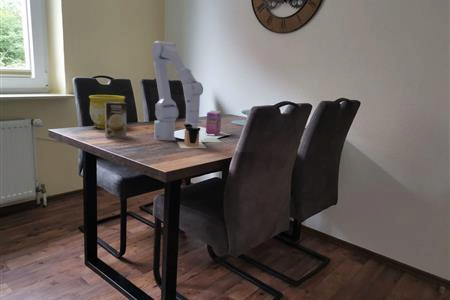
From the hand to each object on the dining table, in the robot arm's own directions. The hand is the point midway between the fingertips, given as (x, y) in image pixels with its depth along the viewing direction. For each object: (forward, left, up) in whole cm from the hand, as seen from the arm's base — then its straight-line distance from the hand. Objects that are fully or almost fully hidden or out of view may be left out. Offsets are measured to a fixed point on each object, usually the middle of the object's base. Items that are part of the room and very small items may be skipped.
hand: (191, 141), depth 149 cm
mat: (+10, +10, -2) cm, 15 cm away
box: (+16, +28, -2) cm, 33 cm away
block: (0, 0, -1) cm, 1 cm away
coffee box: (-32, +20, -2) cm, 38 cm away
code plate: (0, 0, -2) cm, 2 cm away
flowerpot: (-38, +46, -2) cm, 59 cm away
